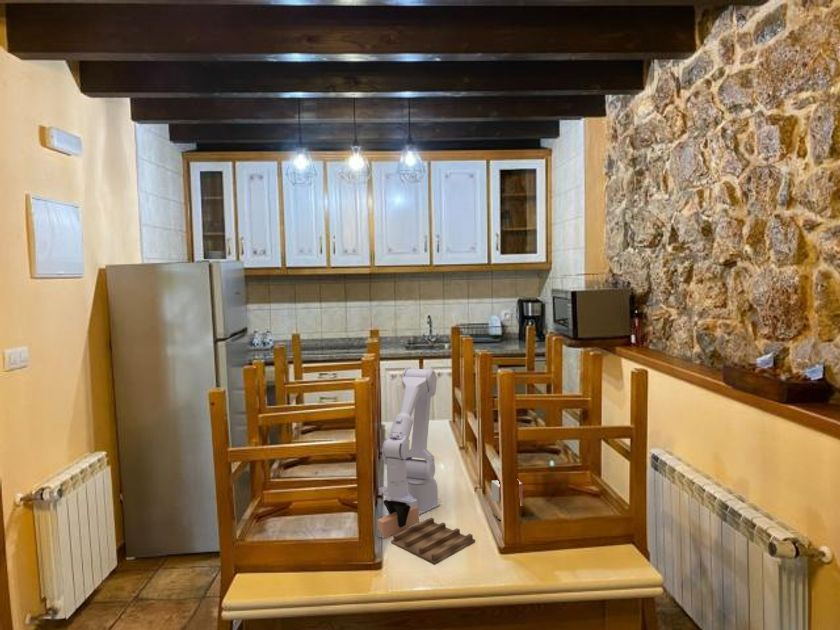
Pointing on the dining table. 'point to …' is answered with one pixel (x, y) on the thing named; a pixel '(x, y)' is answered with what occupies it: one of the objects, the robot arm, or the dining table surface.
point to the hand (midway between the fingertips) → (398, 524)
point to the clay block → (390, 522)
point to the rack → (432, 541)
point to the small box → (496, 491)
